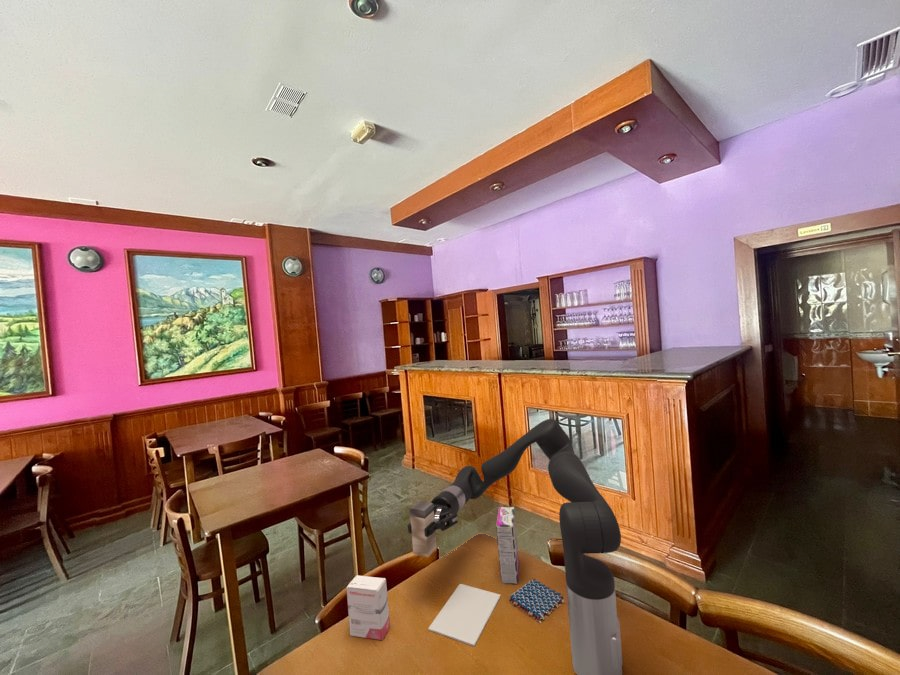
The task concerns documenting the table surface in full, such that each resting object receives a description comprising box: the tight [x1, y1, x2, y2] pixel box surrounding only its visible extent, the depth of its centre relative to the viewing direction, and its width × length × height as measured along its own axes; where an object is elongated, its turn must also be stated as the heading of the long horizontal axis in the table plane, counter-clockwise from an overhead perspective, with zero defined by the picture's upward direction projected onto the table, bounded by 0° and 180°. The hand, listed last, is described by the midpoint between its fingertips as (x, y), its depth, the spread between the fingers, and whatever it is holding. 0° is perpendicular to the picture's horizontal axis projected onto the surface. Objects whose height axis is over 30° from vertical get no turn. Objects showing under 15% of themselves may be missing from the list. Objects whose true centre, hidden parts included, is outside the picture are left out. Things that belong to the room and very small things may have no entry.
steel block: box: [409, 500, 438, 558], centre depth 97 cm, size 4×4×12 cm
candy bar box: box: [495, 506, 520, 585], centre depth 106 cm, size 11×5×16 cm, turn 168°
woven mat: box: [508, 578, 565, 624], centre depth 93 cm, size 10×11×2 cm
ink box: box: [346, 575, 391, 641], centre depth 88 cm, size 9×5×12 cm, turn 74°
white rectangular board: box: [427, 583, 502, 647], centre depth 92 cm, size 12×17×1 cm
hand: (417, 531), depth 94 cm, fingers closed on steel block, 4 cm apart
